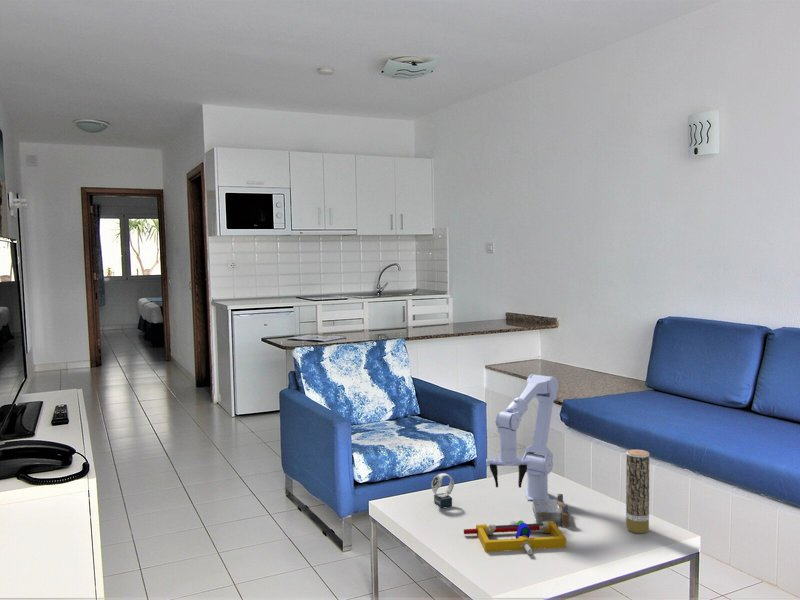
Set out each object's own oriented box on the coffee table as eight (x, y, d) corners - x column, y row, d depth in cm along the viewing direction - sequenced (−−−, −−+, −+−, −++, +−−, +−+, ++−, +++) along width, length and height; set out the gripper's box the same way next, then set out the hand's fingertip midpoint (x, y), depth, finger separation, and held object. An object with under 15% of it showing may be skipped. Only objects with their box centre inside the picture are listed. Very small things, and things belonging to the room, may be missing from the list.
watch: (429, 504, 239) (428, 473, 238) (449, 500, 242) (449, 470, 241) (435, 509, 234) (435, 478, 233) (456, 505, 237) (456, 475, 236)
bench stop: (556, 509, 232) (556, 492, 232) (562, 509, 232) (562, 492, 232) (562, 526, 217) (562, 508, 217) (569, 526, 217) (569, 508, 217)
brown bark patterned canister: (653, 530, 213) (653, 453, 211) (640, 536, 209) (640, 457, 207) (634, 523, 219) (635, 448, 217) (621, 529, 215) (622, 452, 213)
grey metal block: (532, 510, 233) (532, 499, 232) (556, 510, 232) (556, 499, 232) (536, 524, 221) (536, 512, 220) (561, 524, 220) (561, 512, 220)
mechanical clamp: (462, 515, 213) (555, 511, 216) (463, 535, 214) (555, 530, 216) (474, 540, 195) (575, 534, 197) (474, 561, 195) (575, 555, 198)
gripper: (486, 450, 224) (487, 490, 225) (531, 450, 223) (531, 490, 224) (485, 444, 231) (486, 483, 232) (528, 444, 230) (528, 483, 231)
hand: (508, 486), depth 228 cm, fingers open, 7 cm apart
